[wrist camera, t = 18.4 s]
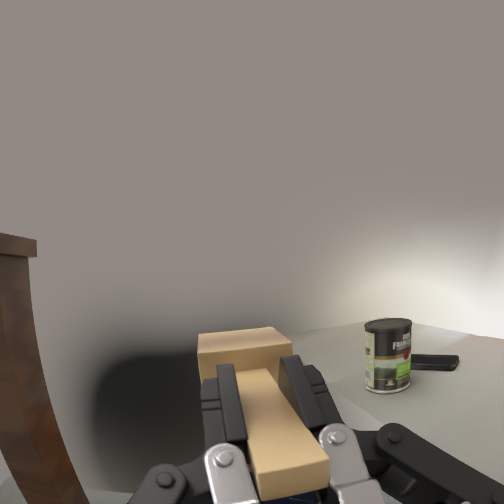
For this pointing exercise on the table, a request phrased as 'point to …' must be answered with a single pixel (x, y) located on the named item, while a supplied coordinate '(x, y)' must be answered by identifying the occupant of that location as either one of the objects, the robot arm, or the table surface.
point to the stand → (28, 391)
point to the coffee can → (388, 355)
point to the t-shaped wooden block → (267, 412)
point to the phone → (434, 362)
